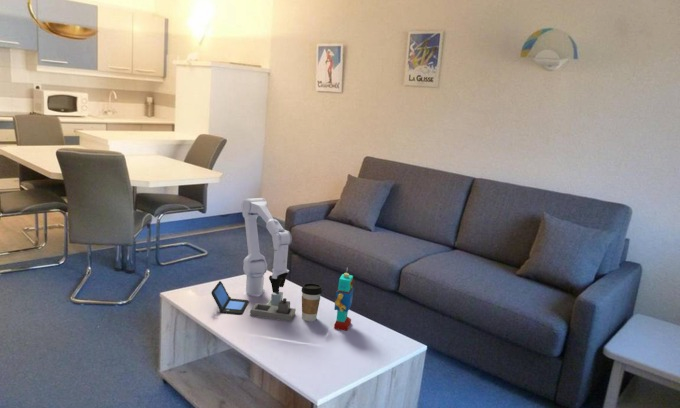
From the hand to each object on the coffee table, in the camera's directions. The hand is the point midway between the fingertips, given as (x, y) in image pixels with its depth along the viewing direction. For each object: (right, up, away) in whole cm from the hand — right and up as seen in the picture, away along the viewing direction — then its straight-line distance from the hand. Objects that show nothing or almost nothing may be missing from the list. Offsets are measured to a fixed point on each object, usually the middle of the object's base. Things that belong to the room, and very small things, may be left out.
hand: (278, 289), depth 224 cm
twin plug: (+3, -10, -7) cm, 13 cm away
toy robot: (+27, -13, -9) cm, 32 cm away
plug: (-1, -8, +2) cm, 8 cm away
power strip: (-1, -10, -7) cm, 12 cm away
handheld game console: (-20, -8, -2) cm, 22 cm away
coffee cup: (+14, -12, -7) cm, 19 cm away
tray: (-1, -8, +2) cm, 9 cm away
